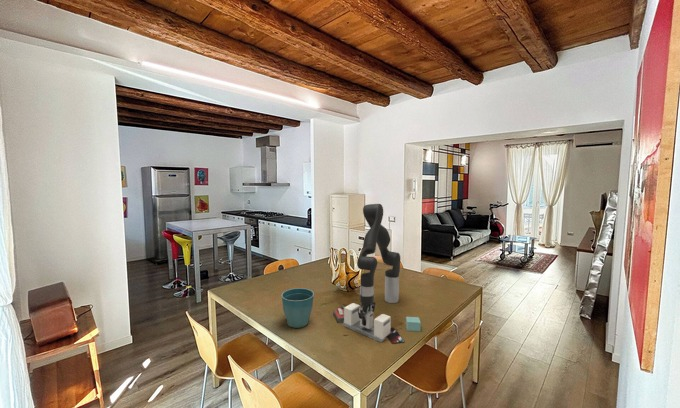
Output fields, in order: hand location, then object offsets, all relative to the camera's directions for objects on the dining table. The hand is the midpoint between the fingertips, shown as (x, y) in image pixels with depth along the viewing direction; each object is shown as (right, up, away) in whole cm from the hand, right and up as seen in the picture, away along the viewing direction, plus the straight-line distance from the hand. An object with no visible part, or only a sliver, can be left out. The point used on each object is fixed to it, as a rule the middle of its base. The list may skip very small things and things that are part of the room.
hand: (366, 323), depth 155 cm
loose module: (0, -1, 0) cm, 1 cm away
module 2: (+8, -3, -6) cm, 10 cm away
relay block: (+22, -1, +3) cm, 23 cm away
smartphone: (+13, -5, -5) cm, 15 cm away
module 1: (-8, -2, +7) cm, 10 cm away
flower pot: (-38, -3, +8) cm, 39 cm away
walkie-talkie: (-14, -3, +17) cm, 22 cm away
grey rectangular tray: (0, -4, 0) cm, 4 cm away
